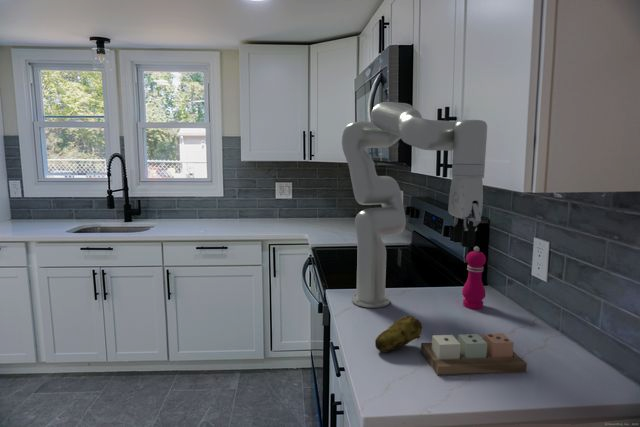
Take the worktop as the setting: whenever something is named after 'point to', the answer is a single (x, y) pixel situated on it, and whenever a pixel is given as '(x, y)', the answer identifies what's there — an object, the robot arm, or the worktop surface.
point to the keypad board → (473, 364)
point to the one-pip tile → (445, 347)
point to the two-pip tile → (472, 346)
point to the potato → (399, 334)
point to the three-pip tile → (498, 345)
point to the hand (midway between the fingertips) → (463, 243)
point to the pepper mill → (474, 280)
